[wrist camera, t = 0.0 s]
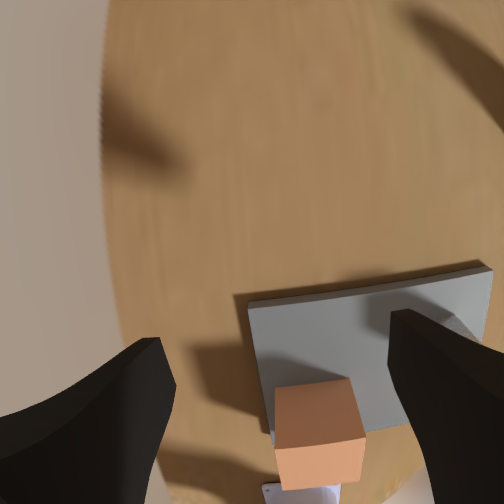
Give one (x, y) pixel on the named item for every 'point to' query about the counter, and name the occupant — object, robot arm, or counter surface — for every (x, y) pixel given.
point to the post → (456, 326)
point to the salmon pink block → (318, 435)
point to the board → (356, 336)
